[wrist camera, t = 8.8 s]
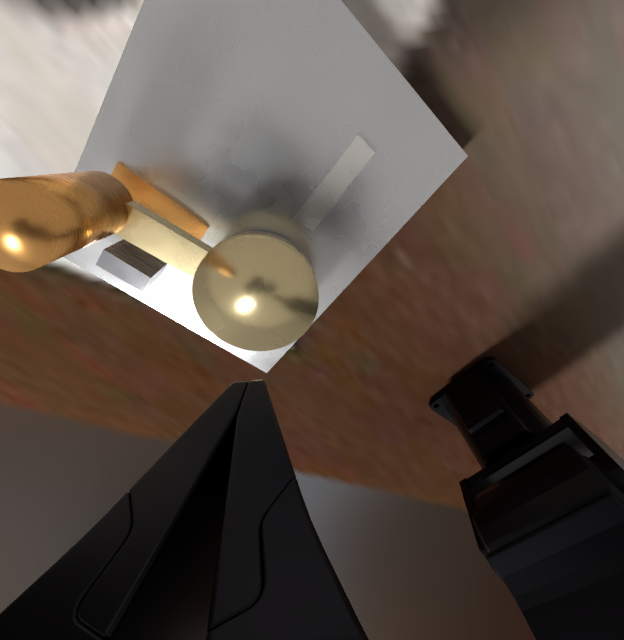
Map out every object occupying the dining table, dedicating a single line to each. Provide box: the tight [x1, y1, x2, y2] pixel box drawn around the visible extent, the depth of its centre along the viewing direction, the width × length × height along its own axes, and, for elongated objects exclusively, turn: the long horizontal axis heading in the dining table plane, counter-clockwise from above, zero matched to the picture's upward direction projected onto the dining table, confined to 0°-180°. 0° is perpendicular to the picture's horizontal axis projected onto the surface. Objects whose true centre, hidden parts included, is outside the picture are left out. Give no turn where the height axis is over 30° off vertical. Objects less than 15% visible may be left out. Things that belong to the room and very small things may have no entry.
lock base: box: [64, 0, 467, 373], centre depth 15 cm, size 15×18×4 cm
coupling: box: [0, 171, 319, 351], centre depth 13 cm, size 12×6×6 cm, turn 55°
